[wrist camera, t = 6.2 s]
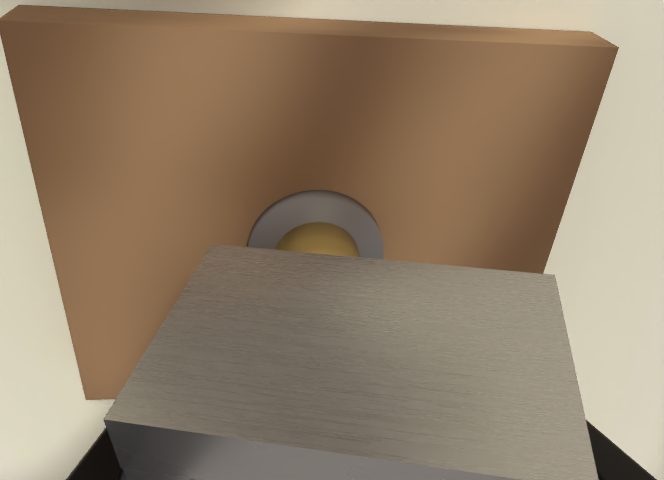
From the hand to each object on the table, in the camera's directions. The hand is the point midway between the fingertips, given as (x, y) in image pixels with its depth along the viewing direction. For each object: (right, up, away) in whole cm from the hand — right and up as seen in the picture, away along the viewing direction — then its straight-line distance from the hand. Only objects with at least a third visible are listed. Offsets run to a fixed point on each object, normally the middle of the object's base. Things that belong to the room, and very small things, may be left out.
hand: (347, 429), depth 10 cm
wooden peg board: (-1, +4, +5) cm, 7 cm away
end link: (+1, 0, +2) cm, 2 cm away
